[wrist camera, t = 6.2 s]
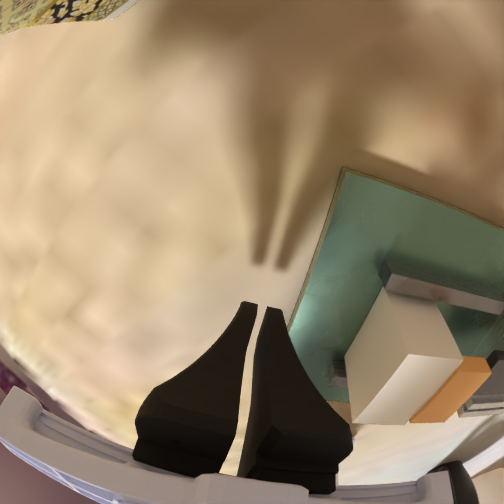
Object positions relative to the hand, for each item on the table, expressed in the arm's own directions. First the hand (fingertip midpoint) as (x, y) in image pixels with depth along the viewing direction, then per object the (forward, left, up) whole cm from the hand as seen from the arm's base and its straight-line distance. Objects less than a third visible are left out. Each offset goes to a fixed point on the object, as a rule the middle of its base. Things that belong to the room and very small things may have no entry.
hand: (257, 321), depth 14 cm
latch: (0, -8, -1) cm, 8 cm away
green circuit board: (0, -15, -2) cm, 16 cm away
